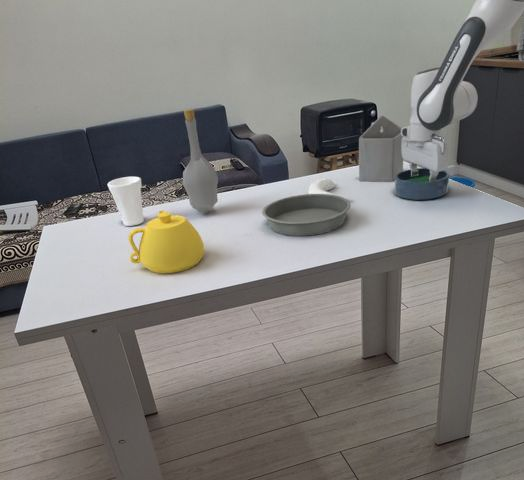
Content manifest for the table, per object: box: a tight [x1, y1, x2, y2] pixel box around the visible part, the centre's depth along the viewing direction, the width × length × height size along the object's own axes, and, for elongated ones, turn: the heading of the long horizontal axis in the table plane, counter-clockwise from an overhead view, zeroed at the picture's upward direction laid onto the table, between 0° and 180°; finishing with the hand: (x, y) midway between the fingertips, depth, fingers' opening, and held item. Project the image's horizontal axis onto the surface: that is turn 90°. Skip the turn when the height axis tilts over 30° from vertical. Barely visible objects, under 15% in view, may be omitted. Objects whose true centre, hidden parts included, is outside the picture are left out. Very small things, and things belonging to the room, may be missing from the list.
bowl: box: [394, 167, 450, 201], centre depth 161 cm, size 15×15×6 cm
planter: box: [358, 115, 404, 183], centre depth 174 cm, size 16×8×19 cm, turn 108°
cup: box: [107, 176, 145, 227], centre depth 163 cm, size 10×10×13 cm
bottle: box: [182, 108, 219, 214], centre depth 160 cm, size 11×11×30 cm
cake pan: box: [261, 193, 351, 237], centre depth 151 cm, size 25×25×4 cm
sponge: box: [405, 176, 438, 182], centre depth 162 cm, size 8×5×4 cm, turn 106°
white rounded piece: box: [307, 178, 347, 199], centre depth 168 cm, size 5×19×15 cm
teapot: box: [127, 210, 206, 274], centre depth 135 cm, size 20×19×13 cm
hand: (422, 180), depth 161 cm, fingers open, 8 cm apart
